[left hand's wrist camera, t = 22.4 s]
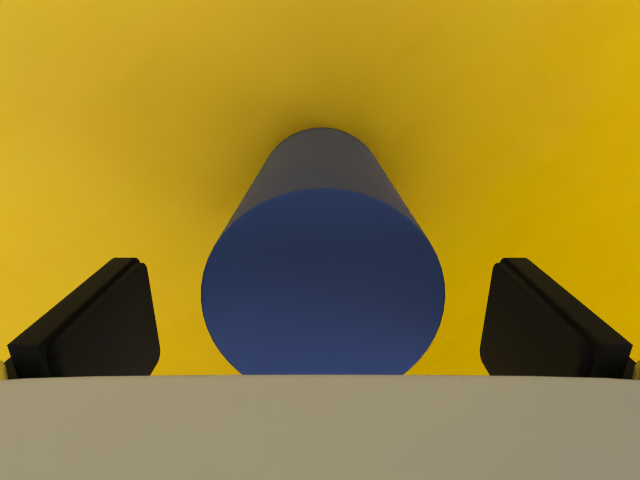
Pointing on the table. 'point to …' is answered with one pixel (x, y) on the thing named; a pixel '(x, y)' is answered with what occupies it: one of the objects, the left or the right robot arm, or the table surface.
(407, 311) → the can
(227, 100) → the table surface
